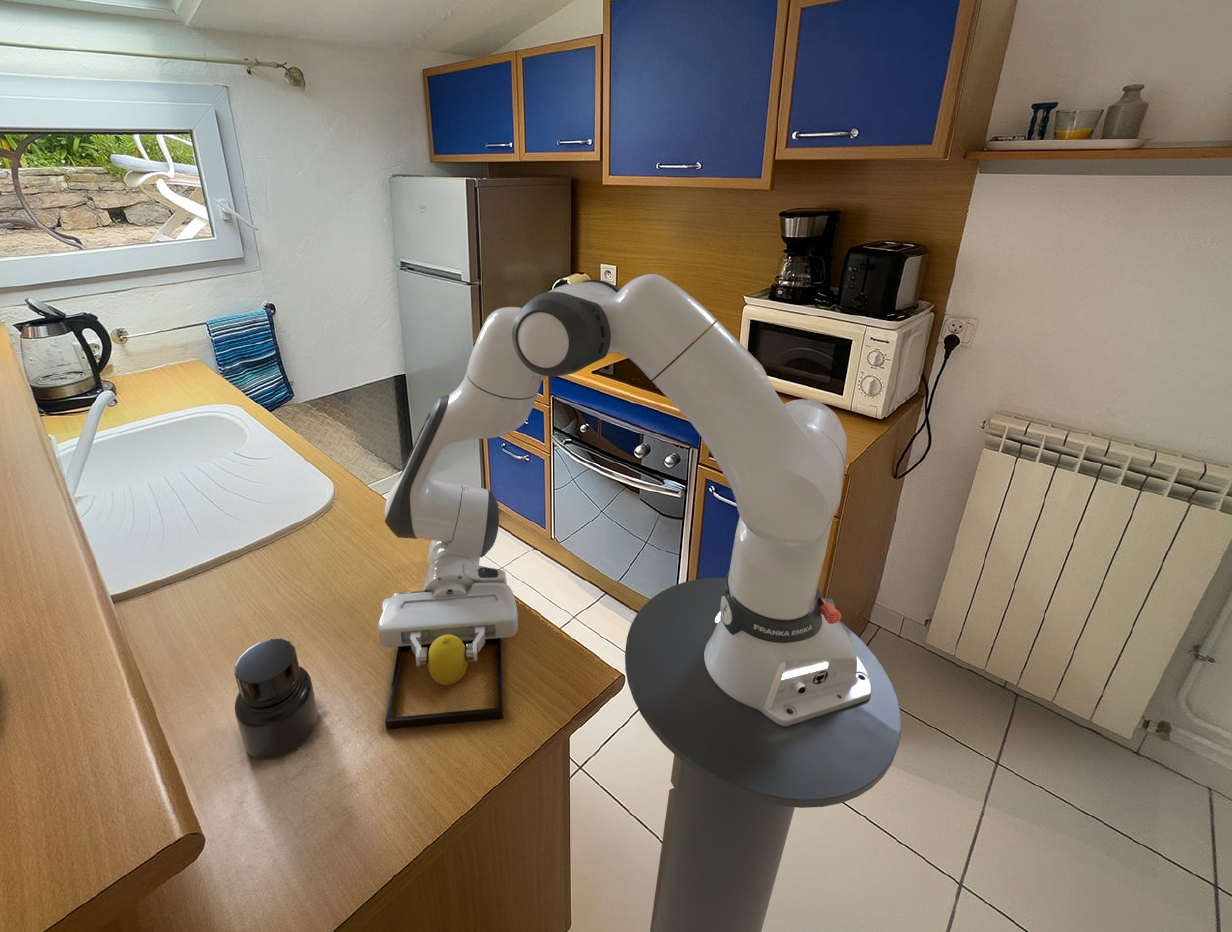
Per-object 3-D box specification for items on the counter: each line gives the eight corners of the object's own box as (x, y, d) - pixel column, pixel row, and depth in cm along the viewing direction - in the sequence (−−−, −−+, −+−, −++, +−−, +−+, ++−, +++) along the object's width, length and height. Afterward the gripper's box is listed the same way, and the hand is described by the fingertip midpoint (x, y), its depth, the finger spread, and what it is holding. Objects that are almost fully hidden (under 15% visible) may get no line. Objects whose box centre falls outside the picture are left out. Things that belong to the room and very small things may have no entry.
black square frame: (500, 641, 89) (500, 633, 88) (503, 718, 77) (503, 711, 76) (399, 649, 87) (398, 641, 86) (385, 730, 75) (384, 721, 74)
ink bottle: (322, 689, 80) (309, 623, 76) (322, 746, 73) (307, 677, 68) (244, 711, 77) (225, 643, 73) (235, 773, 70) (214, 702, 65)
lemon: (439, 661, 85) (434, 620, 82) (474, 668, 84) (471, 626, 81) (423, 694, 80) (417, 651, 77) (461, 701, 79) (457, 657, 76)
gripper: (382, 578, 89) (366, 649, 77) (514, 569, 92) (520, 636, 79) (386, 610, 92) (371, 684, 79) (515, 600, 94) (520, 670, 81)
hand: (447, 660), depth 79 cm, fingers closed on lemon, 5 cm apart
